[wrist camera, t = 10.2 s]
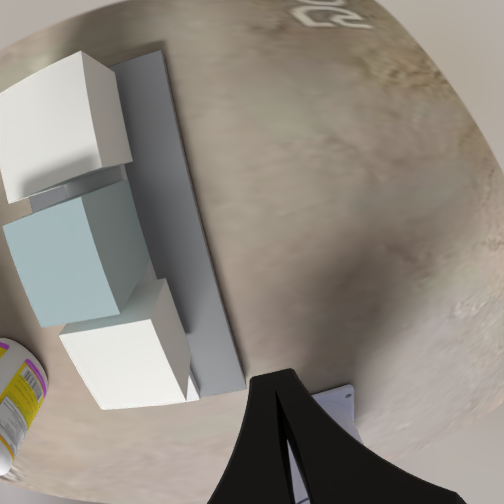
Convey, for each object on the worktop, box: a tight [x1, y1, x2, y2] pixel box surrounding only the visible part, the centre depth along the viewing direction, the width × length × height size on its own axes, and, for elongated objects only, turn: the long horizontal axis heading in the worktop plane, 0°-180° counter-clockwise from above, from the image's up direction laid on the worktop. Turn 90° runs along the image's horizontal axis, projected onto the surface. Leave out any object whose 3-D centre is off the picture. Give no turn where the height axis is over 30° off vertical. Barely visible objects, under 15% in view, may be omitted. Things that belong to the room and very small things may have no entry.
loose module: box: [2, 179, 150, 328], centre depth 13 cm, size 4×4×6 cm
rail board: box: [0, 50, 247, 410], centre depth 15 cm, size 22×10×6 cm, turn 12°
